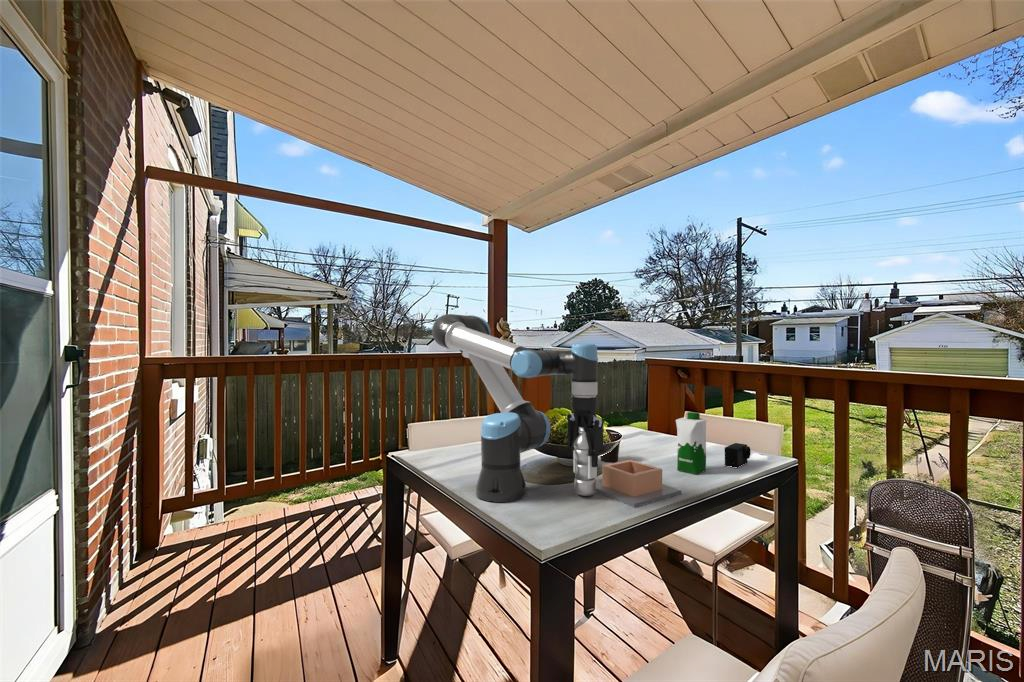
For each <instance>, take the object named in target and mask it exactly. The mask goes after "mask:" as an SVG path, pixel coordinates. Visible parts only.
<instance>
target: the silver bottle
mask: <svg viewBox="0 0 1024 682" xmlns="http://www.w3.org/2000/svg"><path fill="white" fill-rule="evenodd" d="M588 429H591V428H588ZM578 433H579V435H578V437H577V438H576V440H575V442H574V451H575V459H576V473H575V477H574V481H573V487H574V488H573V489H574V490H573V491H574V492H575V493H576V494H577V495H579V496H585V497H587V496H589V497H590V496H593V495H594V494H595V492H596V491H595V490H596V481H597V480H596V478H591V479H589V478H588V454H590V451H589V446H588V441H587V436H586V432H585V431H584V428H583V427H579V431H578Z"/></svg>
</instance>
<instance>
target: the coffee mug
mask: <svg viewBox="0 0 1024 682" xmlns="http://www.w3.org/2000/svg"><path fill="white" fill-rule="evenodd" d="M609 432H610V433H611V434H619V435H620V436H621V434H620V433H617V432H611V431H609ZM615 437H616V436H615ZM620 444H621V441H620V442H619V444H618V445H617V446H616V447H615V448H614V449H613V450H612V451H611V452H609V453H607V454H605V455H603V456H600V455H599V457H600V462H603V463H607V464H612V463H617V461H618V462H619V453H620V452H619V451H620Z"/></svg>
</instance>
